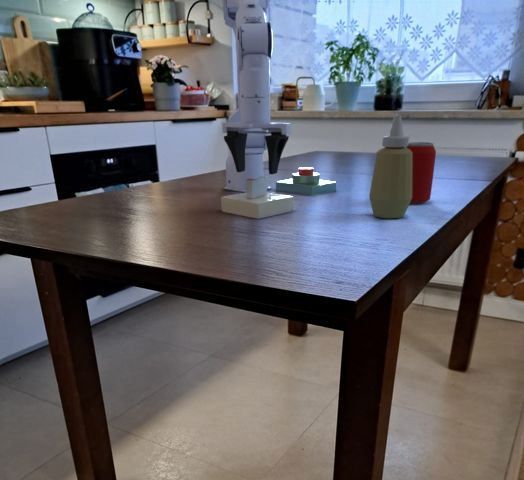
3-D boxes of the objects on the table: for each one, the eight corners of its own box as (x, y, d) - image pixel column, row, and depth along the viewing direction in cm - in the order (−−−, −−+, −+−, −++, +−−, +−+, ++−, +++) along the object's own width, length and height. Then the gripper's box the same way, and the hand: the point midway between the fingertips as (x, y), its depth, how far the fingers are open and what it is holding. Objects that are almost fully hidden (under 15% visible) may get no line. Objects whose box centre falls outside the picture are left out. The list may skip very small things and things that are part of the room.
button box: (275, 190, 130) (275, 174, 128) (299, 186, 136) (299, 170, 134) (312, 196, 122) (312, 178, 120) (335, 191, 128) (336, 174, 126)
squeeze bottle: (385, 222, 96) (395, 116, 88) (359, 214, 102) (365, 115, 94) (419, 217, 99) (430, 114, 91) (391, 210, 106) (400, 113, 98)
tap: (261, 193, 108) (260, 175, 107) (267, 194, 108) (267, 175, 106) (246, 198, 104) (245, 179, 102) (252, 198, 103) (251, 179, 102)
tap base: (221, 211, 108) (220, 196, 106) (256, 204, 114) (256, 189, 113) (258, 219, 100) (257, 202, 99) (293, 211, 107) (293, 195, 105)
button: (295, 175, 127) (295, 168, 127) (305, 174, 130) (305, 166, 129) (306, 177, 125) (306, 169, 124) (316, 175, 127) (316, 168, 126)
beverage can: (426, 199, 116) (433, 141, 111) (432, 204, 110) (440, 144, 105) (396, 199, 117) (401, 142, 111) (400, 204, 111) (406, 144, 105)
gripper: (211, 98, 98) (215, 173, 104) (278, 97, 91) (278, 177, 98) (232, 97, 104) (234, 168, 110) (296, 96, 97) (295, 172, 103)
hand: (256, 172), depth 104 cm, fingers open, 7 cm apart
